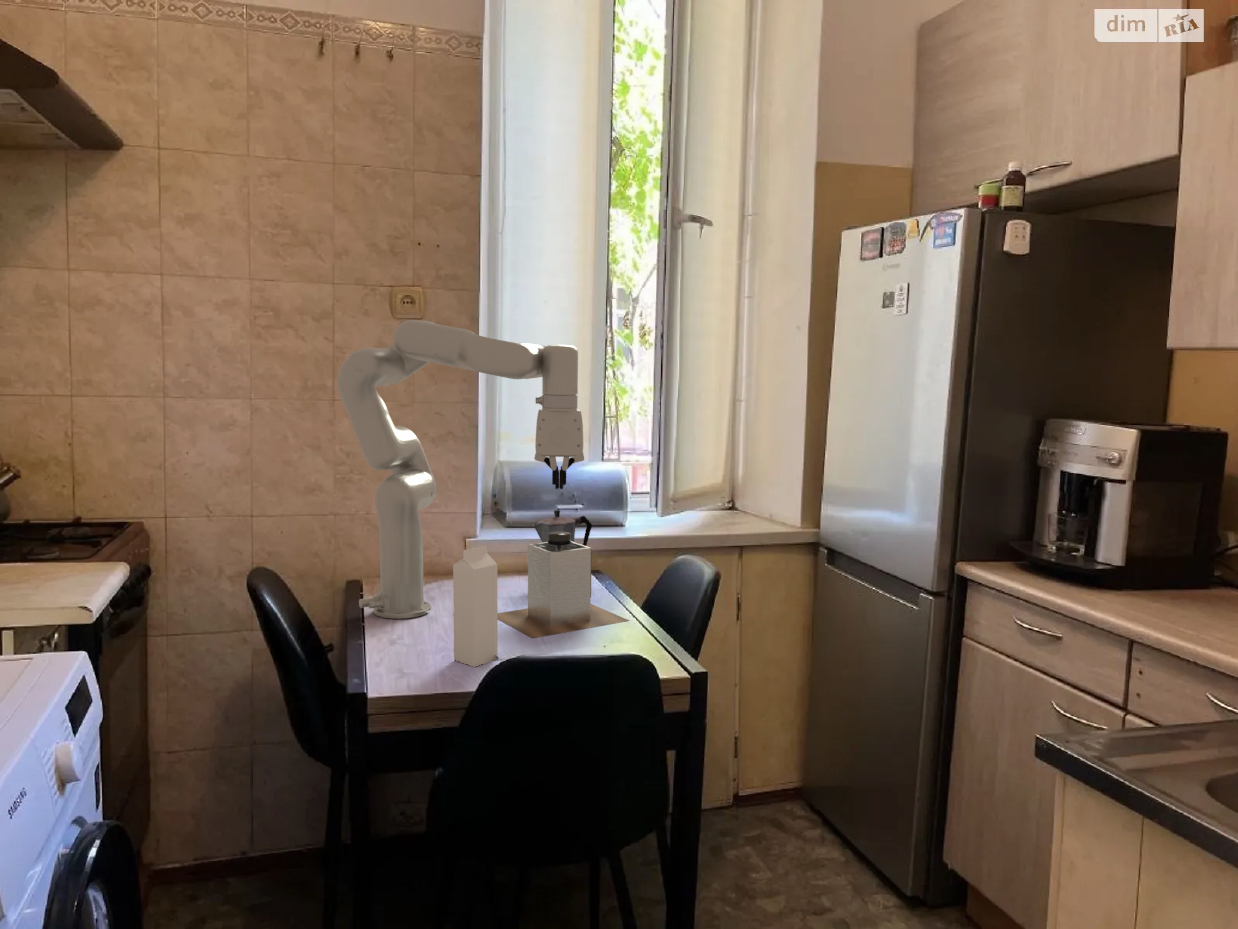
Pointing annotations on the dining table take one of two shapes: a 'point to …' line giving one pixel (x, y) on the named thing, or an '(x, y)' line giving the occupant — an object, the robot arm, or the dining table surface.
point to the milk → (475, 608)
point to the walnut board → (539, 629)
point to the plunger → (559, 539)
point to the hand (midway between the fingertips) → (559, 488)
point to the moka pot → (561, 526)
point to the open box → (559, 583)
